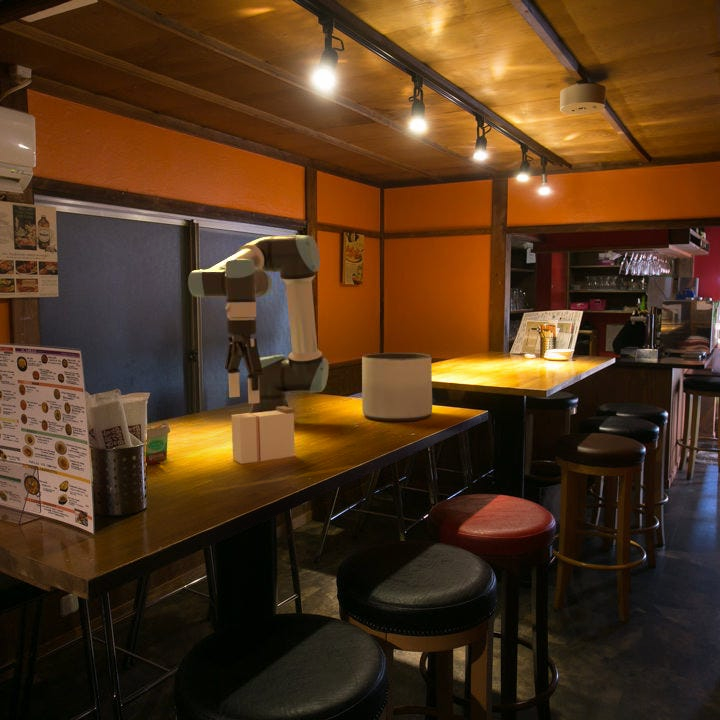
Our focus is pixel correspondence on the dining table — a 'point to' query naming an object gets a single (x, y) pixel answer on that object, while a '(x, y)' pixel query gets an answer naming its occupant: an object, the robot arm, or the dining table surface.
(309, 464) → the dining table surface
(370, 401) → the planter
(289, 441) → the cream rectangular box
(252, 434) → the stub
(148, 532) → the dining table surface
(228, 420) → the dining table surface
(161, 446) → the food container
